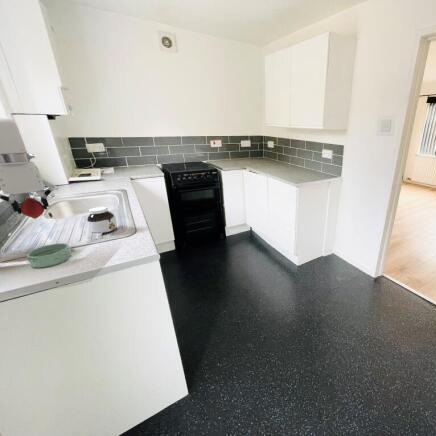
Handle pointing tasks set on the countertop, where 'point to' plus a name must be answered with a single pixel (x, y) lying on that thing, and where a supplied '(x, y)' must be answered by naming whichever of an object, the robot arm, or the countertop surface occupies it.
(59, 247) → the green shallow round dish
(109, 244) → the countertop surface
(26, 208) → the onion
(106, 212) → the spread jar
